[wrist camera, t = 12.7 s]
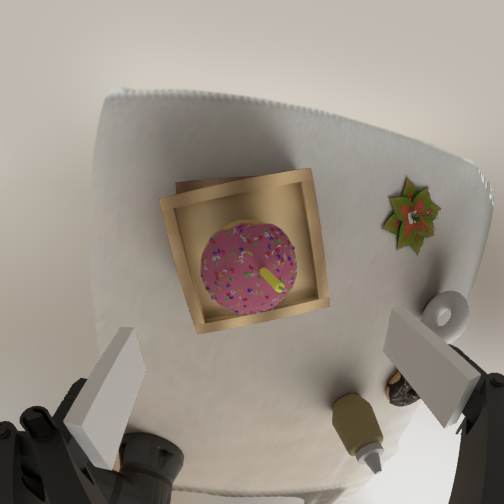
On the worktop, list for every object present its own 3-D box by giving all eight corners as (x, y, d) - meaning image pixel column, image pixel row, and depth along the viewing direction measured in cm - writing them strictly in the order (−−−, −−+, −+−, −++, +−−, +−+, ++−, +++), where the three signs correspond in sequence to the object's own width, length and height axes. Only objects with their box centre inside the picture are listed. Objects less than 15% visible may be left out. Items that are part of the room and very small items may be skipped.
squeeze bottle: (360, 412, 48) (391, 475, 31) (324, 419, 48) (348, 488, 30) (369, 385, 46) (408, 452, 29) (330, 392, 45) (362, 467, 28)
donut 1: (411, 351, 45) (421, 362, 41) (435, 368, 47) (445, 378, 44) (374, 392, 47) (381, 404, 43) (402, 403, 49) (410, 414, 45)
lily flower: (401, 163, 36) (419, 162, 31) (446, 205, 38) (464, 209, 34) (366, 231, 38) (381, 237, 34) (416, 266, 40) (432, 275, 36)
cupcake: (261, 197, 27) (282, 211, 16) (302, 266, 30) (342, 321, 18) (188, 242, 28) (160, 287, 16) (233, 307, 30) (235, 378, 19)
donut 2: (440, 279, 41) (475, 300, 31) (447, 288, 42) (482, 309, 32) (407, 324, 43) (437, 353, 33) (416, 331, 43) (446, 360, 34)
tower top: (201, 313, 34) (197, 334, 30) (170, 196, 31) (158, 199, 26) (317, 289, 35) (329, 306, 30) (299, 169, 31) (311, 167, 26)
